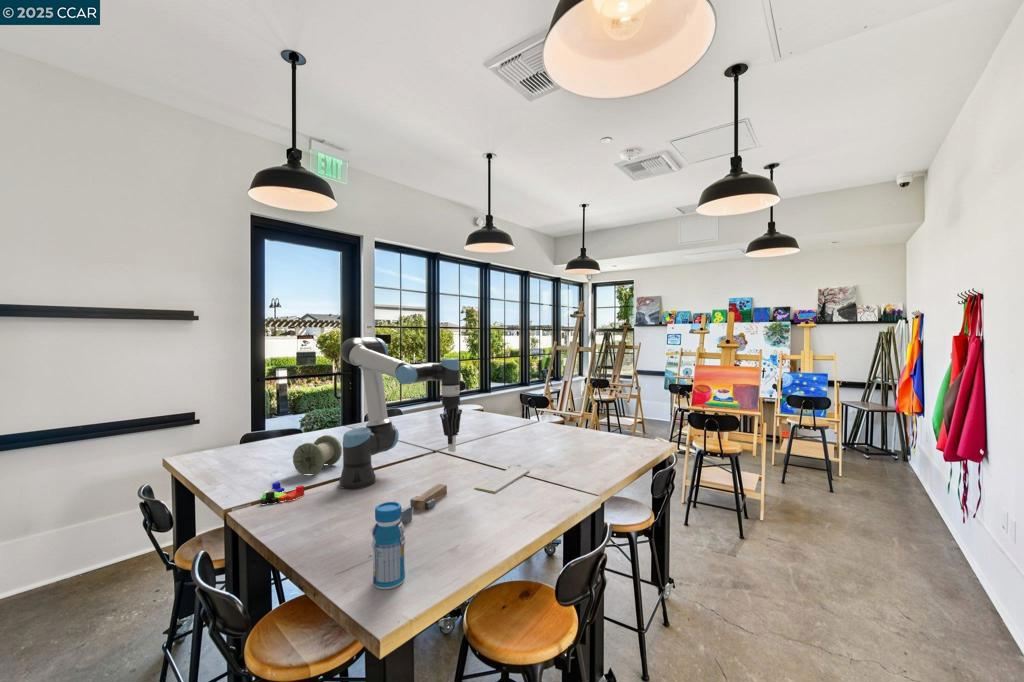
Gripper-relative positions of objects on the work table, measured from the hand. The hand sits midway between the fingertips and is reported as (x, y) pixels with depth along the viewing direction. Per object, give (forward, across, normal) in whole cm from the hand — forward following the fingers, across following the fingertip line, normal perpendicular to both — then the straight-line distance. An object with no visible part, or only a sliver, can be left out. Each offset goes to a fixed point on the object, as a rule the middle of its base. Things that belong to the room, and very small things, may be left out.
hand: (452, 451), depth 178 cm
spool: (+16, -7, +74) cm, 76 cm away
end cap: (+16, -34, 0) cm, 38 cm away
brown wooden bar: (+17, -14, 0) cm, 22 cm away
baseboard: (+17, +20, -13) cm, 29 cm away
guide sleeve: (+16, -19, 0) cm, 25 cm away
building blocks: (+16, -39, +58) cm, 72 cm away
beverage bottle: (+17, -62, -24) cm, 68 cm away
